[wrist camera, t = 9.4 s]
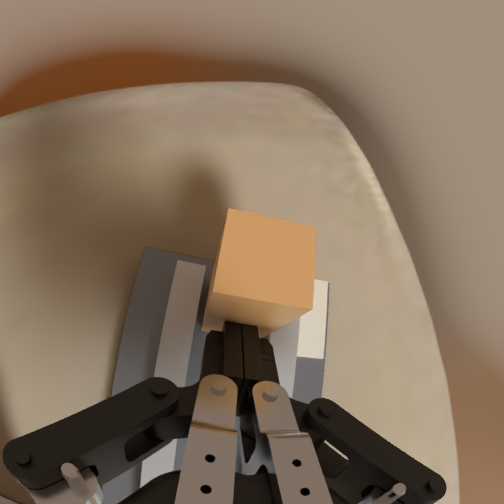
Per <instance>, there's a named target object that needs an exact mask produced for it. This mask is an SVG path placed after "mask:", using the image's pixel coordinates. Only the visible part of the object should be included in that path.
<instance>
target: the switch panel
mask: <svg viewBox="0 0 504 504" xmlns="http://www.w3.org/2000/svg"><path fill="white" fill-rule="evenodd" d="M214 263H215V261H212V260H208V259H203V258H198V257H193V256H188V255H183V254H179V253H174V252H169V251H164V250H159V249H155V248H150V247H144V251H143V254H142V258H141V261H140V265H139V268H138V272H137V276H136V279H135V283H134V287H133V291H132V295H131V299H130V303H129V307H128V311H127V316H126V320H125V325H124V329H123V334H122V338H121V343H120V348H119V353H118V359H117V364H116V370H115V376H114V382H113V388H112V394H111V397H112V396H114V395H116V394H118V393H120V392H122V391H124V390H126V389H128V388H130V387H132V386H134V385H136V384H138V383H140V382H142V381H144V380H146V379H148V378H151V377H162V378H166V379H168V380H170V381H172V382H173V383H174V384H175V385H176V386H177V387H187V386H191V385H194V384H195V383H197V382H198V381H199V376H200V368H201V360H202V355H203V350H204V344H205V339H206V335H207V334H208V333H209V332H205V331H201V330H202V324H203V318H204V312H205V307H206V301H207V296H208V290H209V285H210V280H211V276H212V272H213V267H214ZM328 304H329V283H328V282H326V281H321V280H315V279H314V296H313V309H312V310H311V311H309V312H307V313H305V314H304V315H302V316H300V317H298V318H297V319H295V320H293V321H291V322H290V323H288V324H286V325H284V326H283V327H281V328H279V329H277V330H275V331H274V332H272V333H270V334H268V335H266V336H264V337H262V338H265V339H268V341H269V342H270V343H271V345H272V346H273V350H274V356H275V362H276V366H277V372H278V377H279V382H280V385H281V386H282V387H283V388H284V389H285V390H286V391H287V393H288V396H289V397H290V398H292V399H294V400H297V401H300V402H303V403H306V404H309V403H310V402H311V401H312V400H314V399H316V398H321V395H322V386H323V376H324V365H325V353H326V339H327V323H328ZM239 424H240V417H238V416H236V418H235V431H237V429H238V426H239ZM187 439H188V438H180V439H173V440H172V442H170V443H169V444H168V445H166V446H165V447H163V448H162V449H160V450H159V451H157V452H156V453H154V454H153V455H151V456H150V457H148V458H147V459H145V460H143V461H142V462H140V463H139V464H137V465H136V466H134V467H132V468H131V469H129V470H127V471H126V472H124V473H122V474H121V475H119V476H117V477H116V478H114V479H112V480H111V481H109V482H107V483H105V484H103V490H102V492H103V500H102V504H118V503H119V502H121V501H122V500H123V499H125V498H126V497H128V496H129V495H131V494H132V493H134V492H135V491H137V490H138V489H139V488H141V487H142V486H144V485H145V484H146V483H148V482H149V481H150V480H152V479H153V478H155V477H157V476H159V475H162V474H164V473H167V472H171V471H176V470H181V468H182V463H183V458H184V454H185V449H186V444H187ZM235 472H237V473H242V464H241V456H240V449H239V442H238V434H237V448H236V463H235Z"/></svg>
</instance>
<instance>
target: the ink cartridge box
mask: <svg viewBox="0 0 504 504" xmlns="http://www.w3.org/2000/svg"><path fill="white" fill-rule="evenodd" d="M0 504H18V503H15V502H13V501H11V500H8V499H6V498H4V497H2V496H0Z"/></svg>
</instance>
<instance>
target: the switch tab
mask: <svg viewBox="0 0 504 504" xmlns="http://www.w3.org/2000/svg"><path fill="white" fill-rule="evenodd" d="M315 254H316V228H314V227H310V226H306V225H302V224H298V223H293V222H289V221H285V220H281V219H276V218H272V217H267V216H263V215H259V214H254V213H250V212H245V211H240V210H236V209H231V208H228V212H227V216H226V220H225V224H224V228H223V231H222V235H221V239H220V243H219V247H218V251H217V255H216V259H215V263H214V267H213V272H212V276H211V280H210V285H209V290H208V296H207V301H206V307H205V312H204V318H203V324H202V330H201V331H205V332H210V331H211V330H216V331H222V329H223V325H224V322H225V321H228V322H233V323H239V324H246V325H252V326H257V327H258V333H259V338H262V337H264V336H266V335H268V334H270V333H272V332H274V331H275V330H277V329H279V328H281V327H283V326H284V325H286V324H288V323H290V322H291V321H293V320H295V319H297V318H298V317H300V316H302V315H304V314H305V313H307V312H309V311H311V310H312V309H313V296H314V277H315Z"/></svg>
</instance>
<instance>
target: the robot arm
mask: <svg viewBox="0 0 504 504" xmlns="http://www.w3.org/2000/svg"><path fill="white" fill-rule="evenodd" d="M236 416H238V417H240V424H239V426H238V429H237V431H235V418H236ZM237 434H238V442H239V449H240V456H241V464H242V473H237V472H235V463H236V448H237ZM180 438H188V439H187V444H186V449H185V454H184V458H183V463H182V468H181V470H176V471H171V472H167V473H164V474H162V475H159V476H157V477H155V478H153V479H152V480H150V481H149V482H148V483H146V484H145V485H144V486H142V487H141V488H139V489H138V490H137V491H135V492H134V493H132V494H131V495H129V496H128V497H126V498H125V499H123V500H122V501H121V502H119V503H118V504H434V503H435V502H437V501H438V500H439V499H441V498H442V497H443V496H444V495H445V493H446V483H445V481H444V479H443V478H442V477H441V476H440V475H439V474H437V473H436V472H434V471H432V470H431V469H429V468H428V467H426V466H425V465H423V464H421V463H420V462H418V461H417V460H415V459H414V458H412V457H411V456H409V455H408V454H406V453H405V452H403V451H402V450H400V449H399V448H397V447H396V446H394V445H393V444H391V443H390V442H388V441H387V440H386V439H384V438H383V437H381V436H380V435H378V434H377V433H376V432H374V431H373V430H371V429H370V428H368V427H367V426H366V425H364V424H363V423H362V422H360V421H359V420H357V419H356V418H355V417H353V416H352V415H351V414H349V413H348V412H347V411H345V410H344V409H343V408H341V407H340V406H339V405H337V404H336V403H335V402H333V401H331V400H329V399H325V398H316V399H314V400H312V401H311V402H310V403H309V404H306V403H303V402H300V401H297V400H294V399H292V398H290V397H289V396H288V393H287V391H286V390H285V389H284V388H283V387H282V386H281V385H280V382H279V377H278V372H277V366H276V362H275V356H274V350H273V346H272V345H271V343H270V342H269V341H268V339H265V338H259V333H258V327H257V326H252V325H246V324H239V323H233V322H228V321H225V322H224V325H223V329H222V331H216V330H211V331H210V332H209V333H208V334H207V335H206V339H205V344H204V350H203V355H202V360H201V368H200V376H199V381H198V382H197V383H195V384H194V385H191V386H187V387H177V386H176V385H175V384H174V383H173V382H172V381H170V380H168V379H166V378H162V377H151V378H148V379H146V380H144V381H142V382H140V383H138V384H136V385H134V386H132V387H130V388H128V389H126V390H124V391H122V392H120V393H118V394H116V395H114V396H112V397H110V398H108V399H106V400H104V401H101V402H99V403H97V404H95V405H93V406H91V407H89V408H87V409H84V410H82V411H80V412H78V413H76V414H73V415H71V416H69V417H67V418H64V419H62V420H60V421H57V422H55V423H53V424H51V425H48V426H46V427H43V428H41V429H39V430H36V431H34V432H31V433H29V434H26V435H24V436H21V437H19V438H16V439H14V440H11V441H10V442H8V443H7V444H6V446H5V447H4V450H3V461H4V464H5V465H6V467H7V469H8V470H9V471H10V472H11V473H12V474H13V476H14V477H15V479H16V480H17V481H18V482H19V484H20V485H21V486H22V487H23V488H24V489H25V490H26V491H27V492H28V493H29V494H30V495H31V497H32V498H33V500H34V501H35V503H36V504H101V502H102V500H103V492H102V489H101V487H100V486H102V485H103V484H105V483H107V482H109V481H111V480H112V479H114V478H116V477H117V476H119V475H121V474H122V473H124V472H126V471H127V470H129V469H131V468H132V467H134V466H136V465H137V464H139V463H140V462H142V461H143V460H145V459H147V458H148V457H150V456H151V455H153V454H154V453H156V452H157V451H159V450H160V449H162V448H163V447H165V446H166V445H168V444H169V443H170V442H172V440H173V439H180ZM325 440H326V441H327V442H329V443H330V444H331V445H332V446H334V447H335V448H336V449H338V450H339V451H340V452H342V453H343V454H344V455H345V456H347V458H348V459H349V460H347V459H345V458H344V457H342V456H341V455H340V454H338V453H337V452H336V451H334V450H333V449H332V448H331V447H329V446H328V445H327V444H326V443H324V441H325Z"/></svg>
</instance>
